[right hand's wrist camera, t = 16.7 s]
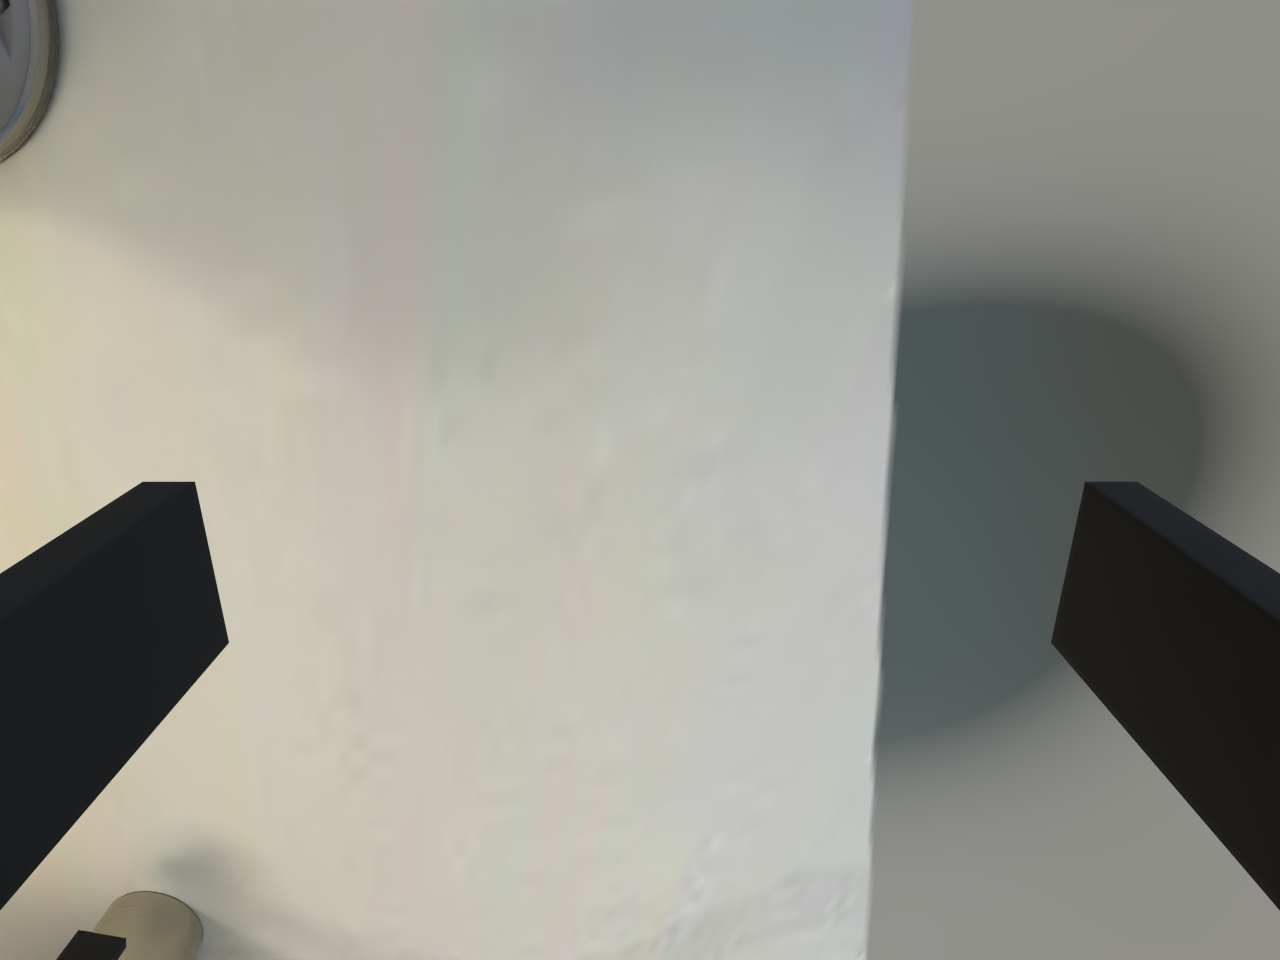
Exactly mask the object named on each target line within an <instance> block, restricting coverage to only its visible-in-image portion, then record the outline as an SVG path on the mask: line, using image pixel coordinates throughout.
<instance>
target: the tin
mask: <svg viewBox="0 0 1280 960" xmlns="http://www.w3.org/2000/svg"><path fill="white" fill-rule="evenodd" d="M92 932H93V933H99V934H105V935H111V936H117V937H123V938H126V948H125V950H124V951H123V953H122V954H121V956H120V957H119V959H118V960H191V959H192V957H193V956H194V954H195V952H196V950H197V948H198V947H199V945H200V943H201V940H202V927H201V924H200V921H199V919H198V918H197V916H196V915H195V914H194V912H193V911H192V910H191V909H190V908H188V907H187V906H186V905H185V904H183V903H182V902H180V901H178V900H177V899H174V898H172V897H170V896H167V895H164V894H160V893H154V892H135V893H131V894H127V895H125V896H122V897H121V898H119V899H117V900H116V901H115V902H114V903H113V904H112V905H111V906H110V908H109V909H108V910H107V912H106V913H105V915H104V916H103V917H102V919H101V920H100V922H99V923H98V924H97V926H96V927H95V929H94V930H93V931H92Z"/></svg>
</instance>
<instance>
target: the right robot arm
mask: <svg viewBox="0 0 1280 960" xmlns="http://www.w3.org/2000/svg"><path fill="white" fill-rule="evenodd" d="M58 54H59V27H58V18H57V9H56V4H55V0H0V161H2V160H4V159H5V158H6V157H8V156H9V155H10V154H11V153H13V152H14V151H15V150H16V149H17V148H18V147H19V146H20V145H21V144H22V143H23V142H24V141H25V140H26V139H27V138H28V137H29V135H30V134H31V133H32V131H33V130H34V129H35V127H36V126H37V124H38V122H39V120H40V119H41V117H42V115H43V113H44V111H45V109H46V106H47V104H48V102H49V99H50V96H51V93H52V89H53V86H54V83H55V77H56V71H57V66H58ZM228 643H229V641H228V636H227V631H226V627H225V622H224V617H223V612H222V608H221V603H220V598H219V594H218V589H217V584H216V579H215V575H214V570H213V565H212V560H211V556H210V551H209V546H208V542H207V537H206V532H205V527H204V523H203V518H202V513H201V509H200V504H199V499H198V494H197V490H196V485H195V482H142V483H140V484H139V485H137V486H136V487H134V488H133V489H131V490H129V491H128V492H126V493H125V494H123V495H122V496H120V497H119V498H117V499H115V500H114V501H112V502H111V503H109V504H108V505H106V506H105V507H103V508H102V509H100V510H98V511H97V512H95V513H94V514H92V515H91V516H89V517H88V518H86V519H84V520H83V521H81V522H80V523H78V524H77V525H75V526H74V527H72V528H70V529H69V530H67V531H66V532H64V533H63V534H61V535H60V536H58V537H57V538H55V539H53V540H52V541H50V542H49V543H47V544H46V545H44V546H43V547H41V548H39V549H38V550H36V551H35V552H33V553H32V554H30V555H29V556H27V557H25V558H24V559H22V560H21V561H19V562H18V563H16V564H15V565H13V566H12V567H10V568H8V569H7V570H5V571H4V572H2V573H1V574H0V910H1V909H2V908H3V906H4V905H5V904H6V903H7V902H8V901H9V899H10V898H11V897H12V896H13V895H14V894H15V892H16V891H17V890H18V889H19V888H20V887H21V885H22V884H23V883H24V882H25V881H26V880H27V878H28V877H29V876H30V875H31V874H32V873H33V871H34V870H35V869H36V868H37V867H38V865H39V864H40V863H41V862H42V861H43V860H44V858H45V857H46V856H47V855H48V854H49V853H50V851H51V850H52V849H53V848H54V847H55V846H56V844H57V843H58V842H59V841H60V840H61V839H62V837H63V836H64V835H65V834H66V833H67V832H68V830H69V829H70V828H71V827H72V826H73V825H74V823H75V822H76V821H77V820H78V819H79V818H80V816H81V815H82V814H83V813H84V812H85V810H86V809H87V808H88V807H89V806H90V805H91V803H92V802H93V801H94V800H95V799H96V798H97V796H98V795H99V794H100V793H101V792H102V791H103V789H104V788H105V787H106V786H107V785H108V784H109V782H110V781H111V780H112V779H113V778H114V777H115V775H116V774H117V773H118V772H119V771H120V770H121V768H122V767H123V766H124V765H125V764H126V763H127V761H128V760H129V759H130V758H131V757H132V755H133V754H134V753H135V752H136V751H137V750H138V748H139V747H140V746H141V745H142V744H143V743H144V741H145V740H146V739H147V738H148V737H149V736H150V734H151V733H152V732H153V731H154V730H155V729H156V727H157V726H158V725H159V724H160V723H161V722H162V720H163V719H164V718H165V717H166V716H167V715H168V713H169V712H170V711H171V710H172V709H173V707H174V706H175V705H176V704H177V703H178V702H179V700H180V699H181V698H182V697H183V696H184V695H185V693H186V692H187V691H188V690H189V689H190V688H191V686H192V685H193V684H194V683H195V682H196V681H197V679H198V678H199V677H200V676H201V675H202V674H203V672H204V671H205V670H206V669H207V668H208V667H209V665H210V664H211V663H212V662H213V661H214V660H215V658H216V657H217V656H218V655H219V654H220V652H221V651H222V650H223V649H224V648H225V647H226V645H227V644H228ZM1051 643H1052V644H1053V645H1054V647H1055V648H1056V649H1057V650H1058V651H1059V652H1060V654H1061V655H1062V656H1063V657H1064V658H1065V659H1066V661H1067V662H1068V663H1069V664H1070V665H1071V667H1072V668H1073V669H1074V670H1075V671H1076V672H1077V674H1078V675H1079V676H1080V677H1081V678H1082V679H1083V681H1084V682H1085V683H1086V684H1087V685H1088V686H1089V687H1090V689H1091V690H1092V691H1093V692H1094V693H1095V695H1096V696H1097V697H1098V698H1099V699H1100V700H1101V702H1102V703H1103V704H1104V705H1105V706H1106V707H1107V709H1108V710H1109V711H1110V712H1111V713H1112V714H1113V716H1114V717H1115V718H1116V719H1117V720H1118V722H1119V723H1120V724H1121V725H1122V726H1123V727H1124V729H1125V730H1126V731H1127V732H1128V733H1129V734H1130V736H1131V737H1132V738H1133V739H1134V740H1135V741H1136V743H1137V744H1138V745H1139V746H1140V747H1141V748H1142V750H1143V751H1144V752H1145V753H1146V754H1147V755H1148V757H1149V758H1150V759H1151V760H1152V761H1153V763H1154V764H1155V765H1156V766H1157V767H1158V768H1159V770H1160V771H1161V772H1162V773H1163V774H1164V775H1165V777H1166V778H1167V779H1168V780H1169V781H1170V782H1171V784H1172V785H1173V786H1174V787H1175V788H1176V789H1177V791H1178V792H1179V793H1180V794H1181V795H1182V796H1183V798H1184V799H1185V800H1186V801H1187V802H1188V803H1189V805H1190V806H1191V807H1192V808H1193V809H1194V810H1195V812H1196V813H1197V814H1198V815H1199V816H1200V818H1201V819H1202V820H1203V821H1204V822H1205V823H1206V824H1207V826H1208V827H1209V828H1210V829H1211V830H1212V832H1213V833H1214V834H1215V835H1216V836H1217V837H1218V839H1219V840H1220V841H1221V842H1222V843H1223V844H1224V846H1225V847H1226V848H1227V849H1228V850H1229V851H1230V853H1231V854H1232V855H1233V856H1234V857H1235V858H1236V860H1237V861H1238V862H1239V863H1240V864H1241V865H1242V867H1243V868H1244V869H1245V870H1246V871H1247V873H1248V874H1249V875H1250V876H1251V877H1252V878H1253V880H1254V881H1255V882H1256V883H1257V884H1258V885H1259V887H1260V888H1261V889H1262V890H1263V891H1264V892H1265V894H1266V895H1267V896H1268V897H1269V898H1270V899H1271V901H1272V902H1273V903H1274V904H1275V905H1276V906H1277V908H1278V909H1279V910H1280V574H1279V573H1278V572H1276V571H1275V570H1273V569H1272V568H1270V567H1268V566H1267V565H1265V564H1264V563H1262V562H1261V561H1259V560H1258V559H1256V558H1255V557H1253V556H1251V555H1250V554H1248V553H1247V552H1245V551H1244V550H1242V549H1241V548H1239V547H1237V546H1236V545H1234V544H1233V543H1231V542H1230V541H1228V540H1227V539H1225V538H1223V537H1222V536H1220V535H1219V534H1217V533H1216V532H1214V531H1213V530H1211V529H1209V528H1208V527H1206V526H1205V525H1203V524H1202V523H1200V522H1199V521H1197V520H1195V519H1194V518H1192V517H1191V516H1189V515H1188V514H1186V513H1185V512H1183V511H1182V510H1180V509H1178V508H1177V507H1175V506H1174V505H1172V504H1171V503H1169V502H1168V501H1166V500H1165V499H1163V498H1161V497H1160V496H1158V495H1157V494H1155V493H1154V492H1152V491H1151V490H1149V489H1147V488H1146V487H1144V486H1143V485H1141V484H1140V483H1138V482H1085V485H1084V490H1083V494H1082V499H1081V504H1080V509H1079V513H1078V518H1077V523H1076V528H1075V532H1074V537H1073V542H1072V546H1071V551H1070V556H1069V560H1068V565H1067V570H1066V575H1065V580H1064V584H1063V589H1062V594H1061V599H1060V603H1059V608H1058V612H1057V617H1056V622H1055V627H1054V632H1053V636H1052V641H1051Z"/></svg>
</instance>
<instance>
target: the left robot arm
mask: <svg viewBox="0 0 1280 960" xmlns="http://www.w3.org/2000/svg"><path fill="white" fill-rule="evenodd" d="M125 948H126V938H123V937H117V936H111V935H105V934H99V933H93V932H87V931H82V930H78V932H77V933H76V934H75V936H74V937H73V938H72V939H71V941H70V942H69V943H68V945H67V946H66V947H65V949H64V950H63V951H62V953H61V954H60V955H59V957H58V958H57V959H56V960H118V959H119V957H120V956H121V954H122V953H123V951H124V950H125Z"/></svg>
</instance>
